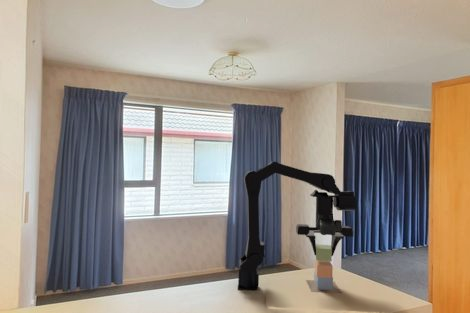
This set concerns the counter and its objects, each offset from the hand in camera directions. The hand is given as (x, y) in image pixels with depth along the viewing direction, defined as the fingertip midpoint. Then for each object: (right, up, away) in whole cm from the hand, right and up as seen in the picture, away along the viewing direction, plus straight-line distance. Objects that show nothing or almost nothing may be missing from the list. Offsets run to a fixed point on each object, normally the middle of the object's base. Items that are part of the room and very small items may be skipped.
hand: (323, 255), depth 119 cm
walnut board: (0, -11, -1) cm, 11 cm away
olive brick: (0, -1, 0) cm, 1 cm away
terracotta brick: (0, -7, 0) cm, 7 cm away
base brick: (0, -11, 0) cm, 11 cm away
